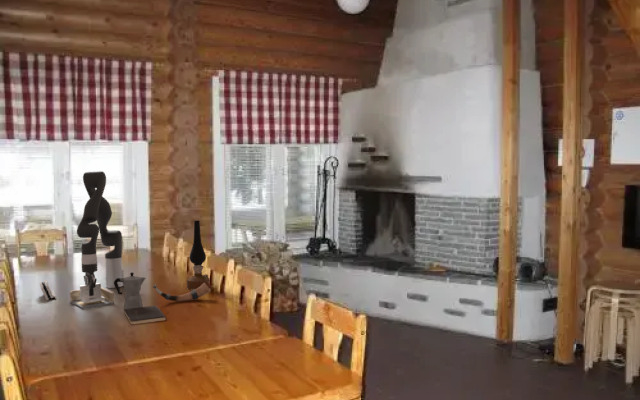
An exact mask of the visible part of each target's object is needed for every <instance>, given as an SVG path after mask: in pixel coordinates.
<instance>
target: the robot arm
mask: <svg viewBox="0 0 640 400" xmlns="http://www.w3.org/2000/svg"><path fill="white" fill-rule="evenodd" d="M82 181H83V185H84V187H85V190H86V192H87V195H88V196H89V197H88V198H89V199H88V200H87V202H86V203H85V205H84V209H83V214H82V218H81V220H80V222H79V223H78V225H77V228H76V234H77V237H78V238H81V239H87V238H91V239H90V240H89V241H86V242H85V241H84V242H82V243H81V245H80V246H81V259H80V260H81V272H82V273H84V275H83V281H84V285H87V284H88V285H89V296H93V295H94V289H93V288H95V286H96V283H97V280H98V279H97V278H96V274H95V272H97V271H98V255H97V241H98V237H99V235H100V240H101V243H102V245H103V246H104V247H113V249H112V250H111V251H110V250H109V251H107V252H106V253H105V254H104V261H105V262H104V263H105V265H104V266H105V287H106V289H107V288H109V289H114V288H115V285H114V281H115V280H116V279H117V278H125V277H124V276H125V275H124V274H125V273H124V272H125V271H124V269H123V258H122V257H123V255H122V254H123V235H122V234H123V233H122V231H121V230H118V229H117V230H109V229H108V228H107V227H108V224H109V222H110V220H111V218H112V215H113V212H112V211H113V210H112V208H111V205H110V202H109V201H108V199H106V198H105V197H103V194H104V190H106V189H105V188H106V185H107V175H106V173H105V172H104V171H102V170H99V171H98V170H97V171H94V170H93V171H86V172H84V173H83V175H82ZM95 222H96V223H97V224H96V223H95ZM117 284H118V287H119V288H120V287H121V288H122V287H124V285H123V282H117ZM92 285H93V286H92ZM115 289H116V288H115Z"/></svg>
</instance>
